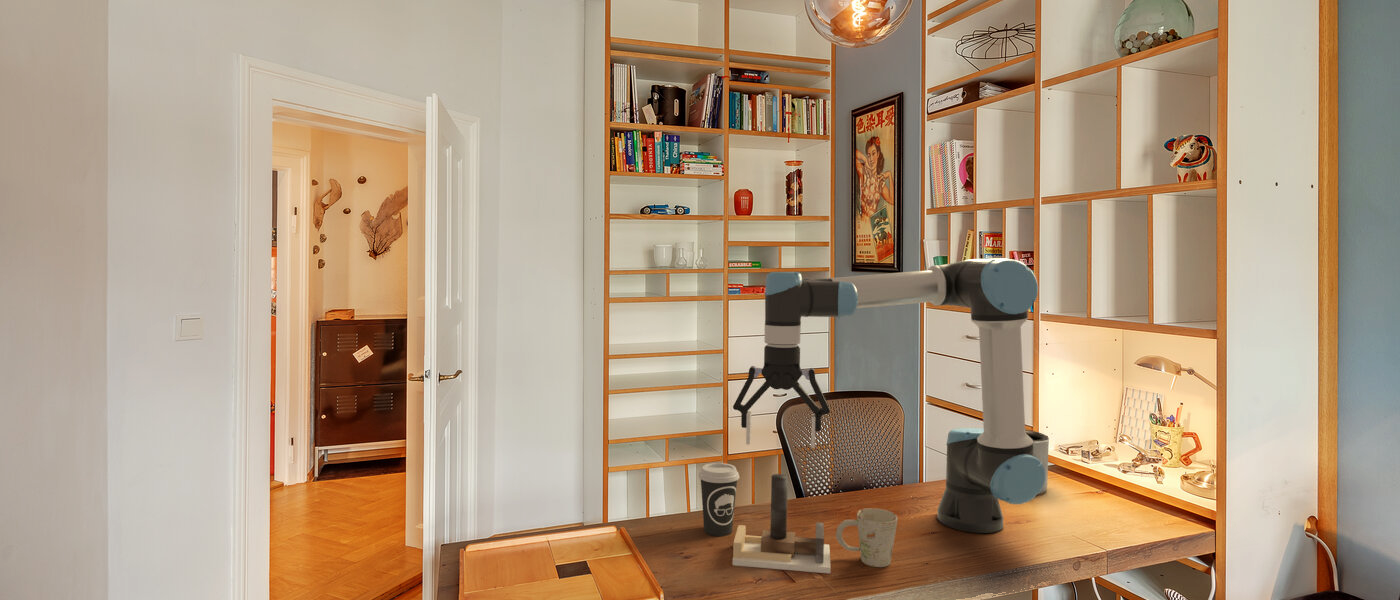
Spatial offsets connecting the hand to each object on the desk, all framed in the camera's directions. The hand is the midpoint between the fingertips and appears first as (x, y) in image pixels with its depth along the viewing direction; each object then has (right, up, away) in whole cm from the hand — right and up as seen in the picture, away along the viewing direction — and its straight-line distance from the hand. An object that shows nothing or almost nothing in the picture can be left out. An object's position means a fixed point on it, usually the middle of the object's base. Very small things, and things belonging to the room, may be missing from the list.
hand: (780, 444), depth 149 cm
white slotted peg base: (+1, -24, +1) cm, 24 cm away
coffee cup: (-13, -24, +15) cm, 31 cm away
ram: (+3, -23, +1) cm, 23 cm away
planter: (+73, -23, +51) cm, 92 cm away
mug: (+18, -25, 0) cm, 31 cm away
